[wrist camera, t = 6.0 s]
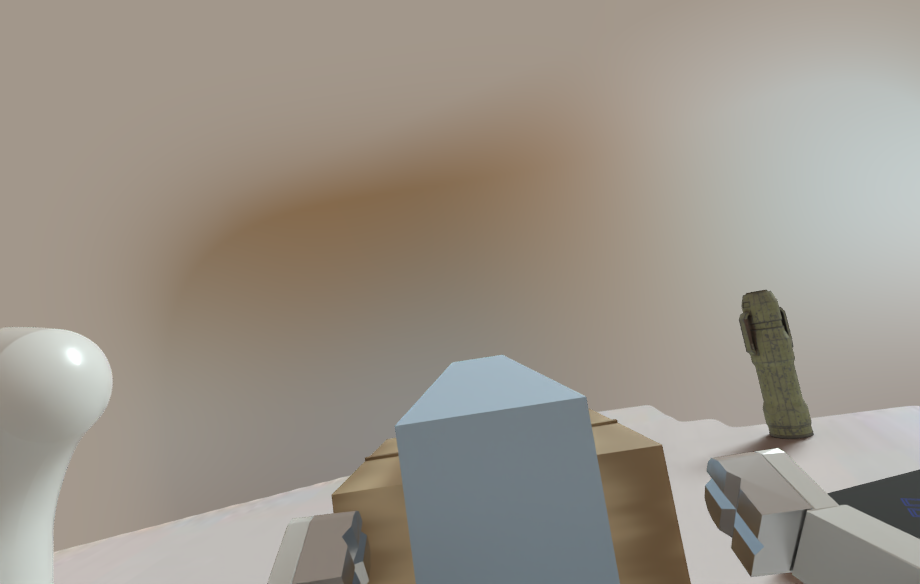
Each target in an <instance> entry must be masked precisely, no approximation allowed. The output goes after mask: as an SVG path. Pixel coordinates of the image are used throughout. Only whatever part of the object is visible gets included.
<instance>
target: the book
mask: <svg viewBox="0 0 920 584" xmlns="http://www.w3.org/2000/svg"><path fill="white" fill-rule="evenodd" d="M827 494H828V495H829V496H830V497H831V498H832V499H833V500H834V501H835V502H836V503H837V504H838V505H848V506H850V507H852V508H854V509H857V510H859V511H861V512H863V513H865V514H867V515H869V516H871V517H874V518H876V519H878V520H880V521H882V522H884V523H886V524H888V525H891V526H893V527H895V528H897V529H899V530H901V531H903V532H905V533H908V534H910V535H912V536H914V537H916V538H918V539H920V470H916V471H913V472H909V473H905V474H901V475H897V476H893V477H889V478H885V479H882V480H878V481H874V482H870V483H866V484H862V485H858V486H854V487H851V488H847V489H843V490H839V491H835V492H831V493H827Z"/></svg>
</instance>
